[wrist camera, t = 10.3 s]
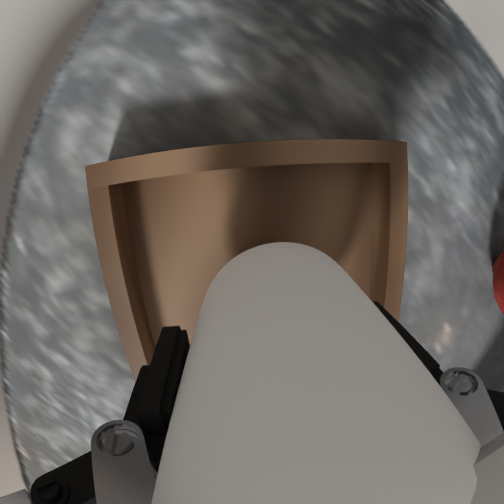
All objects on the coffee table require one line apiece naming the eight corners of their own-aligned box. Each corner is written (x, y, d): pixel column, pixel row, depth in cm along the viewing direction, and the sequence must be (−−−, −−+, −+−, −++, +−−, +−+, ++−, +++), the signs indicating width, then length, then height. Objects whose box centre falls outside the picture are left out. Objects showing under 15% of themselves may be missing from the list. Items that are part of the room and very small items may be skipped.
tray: (381, 143, 14) (406, 141, 12) (369, 367, 18) (384, 390, 16) (106, 164, 13) (84, 166, 11) (157, 392, 17) (151, 419, 15)
